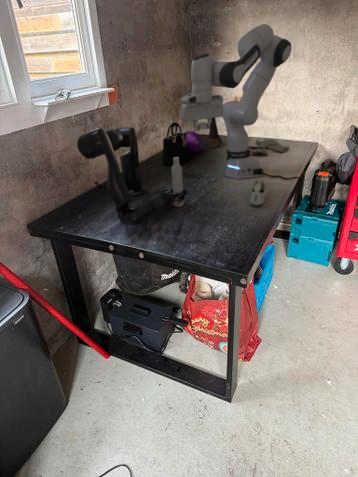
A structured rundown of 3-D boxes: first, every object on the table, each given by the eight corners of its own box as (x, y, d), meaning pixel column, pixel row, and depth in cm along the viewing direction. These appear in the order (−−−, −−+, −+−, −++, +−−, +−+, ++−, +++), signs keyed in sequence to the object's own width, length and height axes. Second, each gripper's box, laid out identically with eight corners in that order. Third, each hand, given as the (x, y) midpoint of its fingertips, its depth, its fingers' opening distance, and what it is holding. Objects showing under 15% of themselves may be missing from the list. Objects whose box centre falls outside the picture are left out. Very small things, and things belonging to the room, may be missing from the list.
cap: (207, 127, 152) (207, 122, 151) (205, 129, 149) (205, 124, 147) (199, 127, 153) (199, 122, 152) (197, 129, 150) (197, 123, 149)
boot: (222, 140, 259) (222, 113, 249) (219, 148, 239) (219, 120, 229) (211, 140, 261) (211, 114, 251) (207, 148, 241) (207, 120, 231)
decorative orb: (204, 151, 235) (204, 129, 228) (194, 156, 225) (193, 134, 217) (186, 149, 243) (186, 128, 235) (175, 154, 232) (174, 132, 224)
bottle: (185, 204, 157) (183, 157, 146) (177, 207, 155) (174, 160, 144) (180, 201, 161) (177, 155, 149) (171, 204, 159) (168, 157, 147)
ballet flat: (269, 188, 169) (270, 173, 165) (265, 208, 149) (266, 191, 145) (252, 187, 171) (253, 172, 167) (246, 206, 151) (247, 190, 147)
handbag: (173, 167, 207) (170, 126, 195) (161, 165, 212) (158, 125, 199) (189, 158, 222) (188, 119, 209) (178, 157, 226) (176, 119, 214)
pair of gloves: (254, 158, 215) (254, 150, 212) (233, 149, 235) (233, 142, 233) (291, 151, 224) (292, 143, 222) (268, 143, 245) (268, 136, 242)
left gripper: (169, 198, 139) (193, 185, 151) (145, 191, 147) (169, 180, 159) (171, 214, 143) (193, 200, 154) (147, 207, 151) (170, 194, 162)
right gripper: (219, 93, 150) (219, 125, 157) (178, 98, 143) (179, 130, 150) (226, 95, 144) (225, 127, 151) (183, 99, 138) (185, 133, 145)
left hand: (181, 190), depth 156 cm, fingers closed on bottle, 5 cm apart
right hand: (202, 129), depth 151 cm, fingers closed on cap, 4 cm apart
